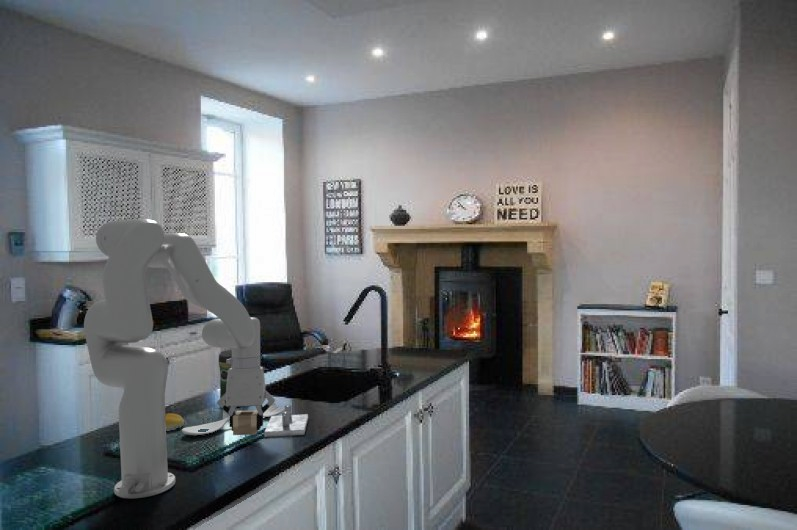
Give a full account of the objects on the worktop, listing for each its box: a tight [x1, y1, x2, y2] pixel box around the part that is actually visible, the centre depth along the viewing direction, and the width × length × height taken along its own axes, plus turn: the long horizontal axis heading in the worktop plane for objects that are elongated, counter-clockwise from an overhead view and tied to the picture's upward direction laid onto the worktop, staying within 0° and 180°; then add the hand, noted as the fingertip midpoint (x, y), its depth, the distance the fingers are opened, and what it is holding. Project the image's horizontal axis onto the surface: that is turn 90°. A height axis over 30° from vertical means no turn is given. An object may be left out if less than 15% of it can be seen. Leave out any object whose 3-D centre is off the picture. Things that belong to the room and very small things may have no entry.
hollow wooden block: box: [232, 409, 259, 436], centre depth 159 cm, size 6×6×5 cm
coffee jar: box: [218, 349, 244, 408], centre depth 198 cm, size 10×8×19 cm
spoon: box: [181, 402, 285, 436], centre depth 176 cm, size 9×32×4 cm, turn 132°
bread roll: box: [165, 412, 185, 429], centre depth 175 cm, size 8×9×4 cm
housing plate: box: [264, 404, 309, 438], centre depth 172 cm, size 15×11×6 cm
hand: (246, 428), depth 159 cm, fingers closed on hollow wooden block, 6 cm apart
